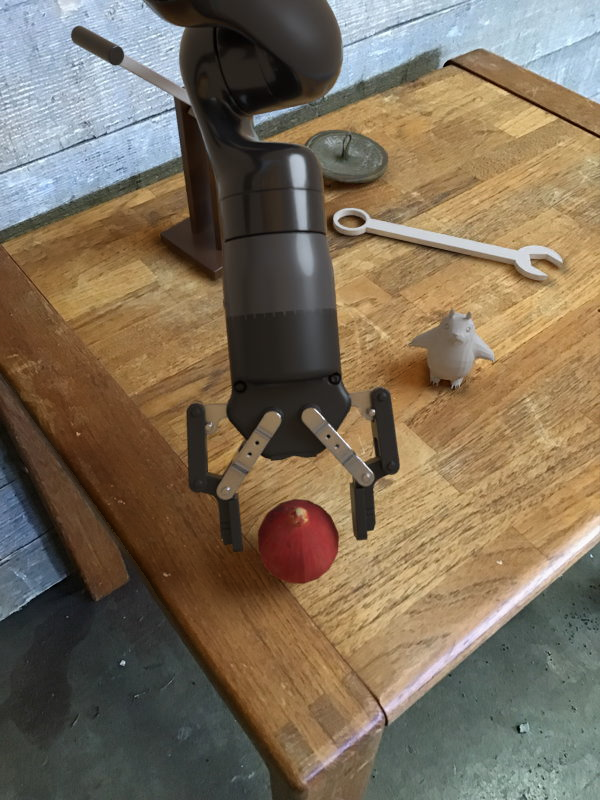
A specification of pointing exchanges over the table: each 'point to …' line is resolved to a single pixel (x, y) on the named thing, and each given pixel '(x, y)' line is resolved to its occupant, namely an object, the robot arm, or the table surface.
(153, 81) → the silver and black bar
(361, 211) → the wrench
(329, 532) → the onion
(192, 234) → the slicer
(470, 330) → the figurine
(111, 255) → the table surface
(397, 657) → the table surface
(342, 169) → the lid
